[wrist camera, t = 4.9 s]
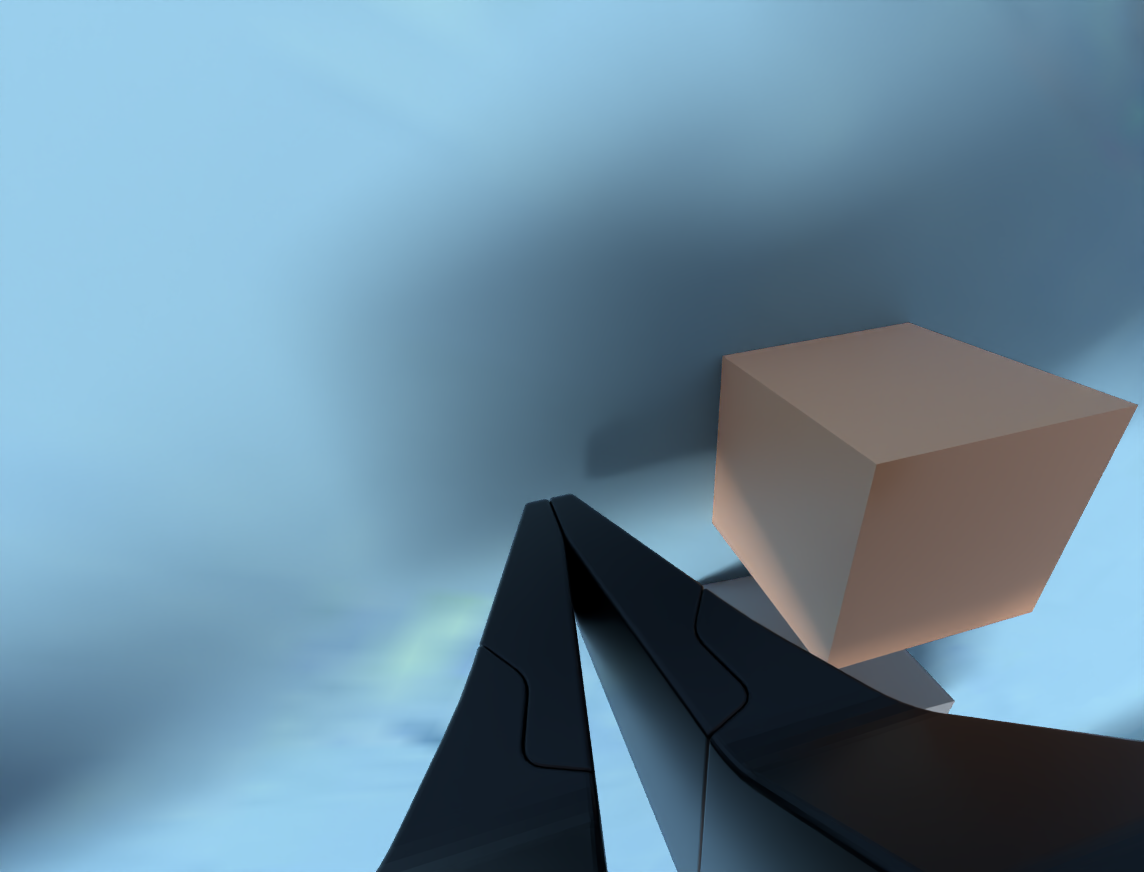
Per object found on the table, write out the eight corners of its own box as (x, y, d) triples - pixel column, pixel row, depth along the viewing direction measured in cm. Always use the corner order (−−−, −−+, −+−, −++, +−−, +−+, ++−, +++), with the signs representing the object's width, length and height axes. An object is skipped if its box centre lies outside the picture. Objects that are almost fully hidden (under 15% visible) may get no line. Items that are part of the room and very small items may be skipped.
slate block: (789, 663, 15) (892, 810, 12) (661, 692, 14) (733, 859, 11) (820, 560, 13) (954, 700, 10) (675, 587, 12) (767, 751, 9)
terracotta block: (866, 484, 12) (1031, 611, 9) (710, 520, 12) (825, 672, 8) (905, 321, 10) (1137, 405, 7) (720, 353, 10) (875, 463, 6)
